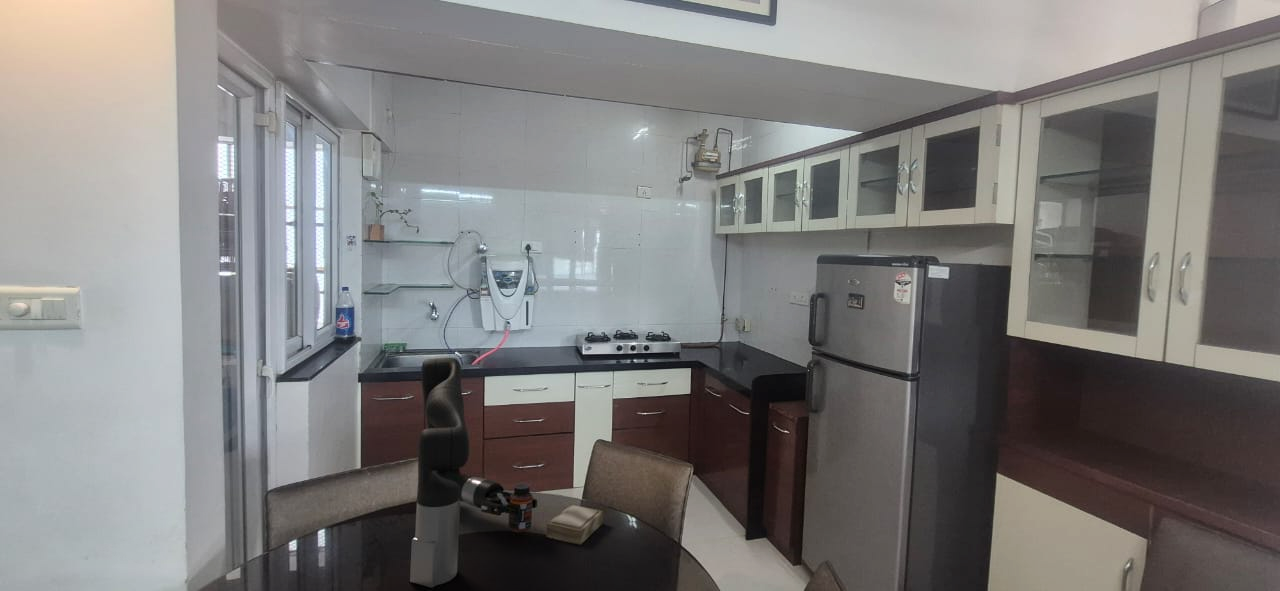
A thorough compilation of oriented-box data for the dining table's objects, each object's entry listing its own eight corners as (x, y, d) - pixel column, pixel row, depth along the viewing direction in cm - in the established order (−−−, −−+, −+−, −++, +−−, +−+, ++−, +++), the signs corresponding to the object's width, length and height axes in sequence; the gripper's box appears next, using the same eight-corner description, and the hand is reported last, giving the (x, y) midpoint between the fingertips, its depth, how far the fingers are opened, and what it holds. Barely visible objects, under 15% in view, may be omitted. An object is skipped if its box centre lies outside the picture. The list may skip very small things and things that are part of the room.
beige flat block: (580, 544, 137) (581, 529, 137) (546, 537, 141) (547, 522, 141) (602, 523, 150) (602, 509, 150) (570, 517, 154) (571, 503, 154)
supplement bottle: (528, 534, 138) (530, 490, 138) (505, 532, 138) (507, 489, 138) (533, 524, 144) (535, 482, 144) (511, 523, 144) (513, 481, 144)
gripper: (462, 487, 142) (509, 502, 134) (501, 473, 154) (546, 485, 146) (461, 515, 142) (507, 531, 133) (500, 499, 154) (545, 513, 146)
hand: (527, 507), depth 140 cm, fingers closed on supplement bottle, 6 cm apart
